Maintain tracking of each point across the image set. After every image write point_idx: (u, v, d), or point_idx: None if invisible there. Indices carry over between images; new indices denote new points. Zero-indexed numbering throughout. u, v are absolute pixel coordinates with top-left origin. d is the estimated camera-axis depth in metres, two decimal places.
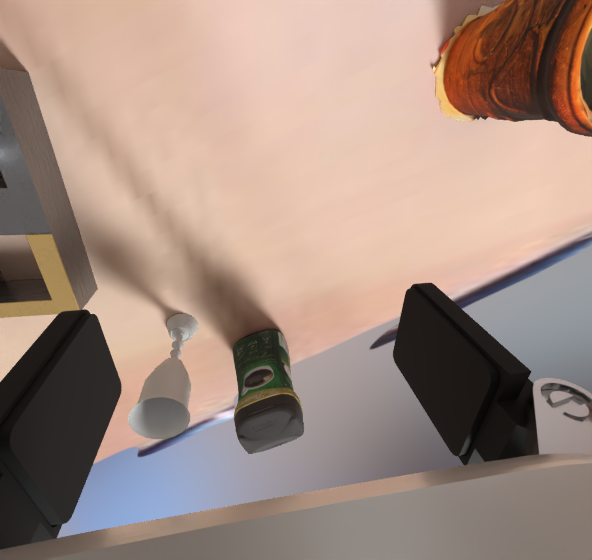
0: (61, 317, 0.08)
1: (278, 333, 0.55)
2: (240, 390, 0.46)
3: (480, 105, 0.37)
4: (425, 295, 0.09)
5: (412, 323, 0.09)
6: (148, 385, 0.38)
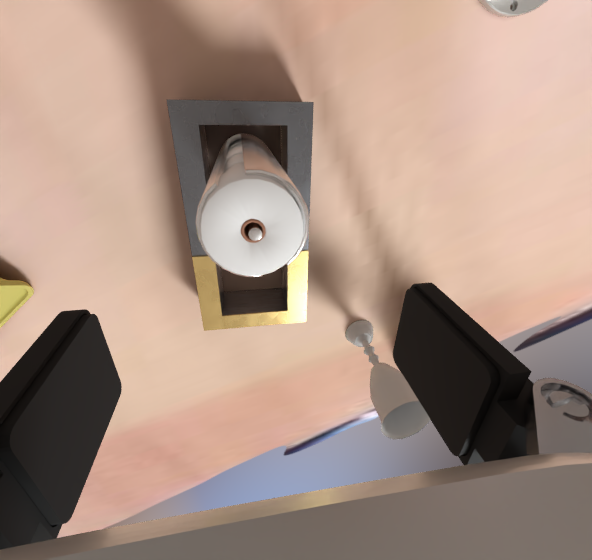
0: (61, 317, 0.08)
1: None
2: None
3: None
4: (425, 295, 0.09)
5: (412, 323, 0.09)
6: (388, 389, 0.41)
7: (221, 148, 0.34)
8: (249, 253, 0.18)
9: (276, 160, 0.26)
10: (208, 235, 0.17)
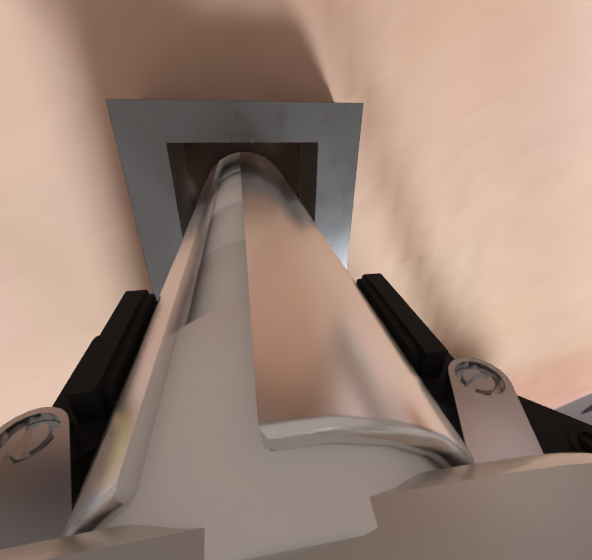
0: (128, 295, 0.09)
1: None
2: None
3: None
4: (372, 285, 0.10)
5: None
6: None
7: (207, 179, 0.21)
8: None
9: (310, 219, 0.13)
10: None
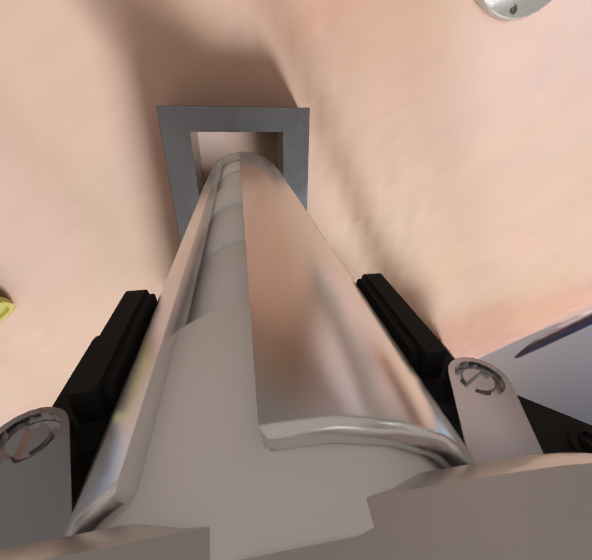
0: (128, 295, 0.09)
1: None
2: None
3: None
4: (372, 285, 0.10)
5: None
6: None
7: (207, 179, 0.21)
8: None
9: (310, 219, 0.13)
10: None
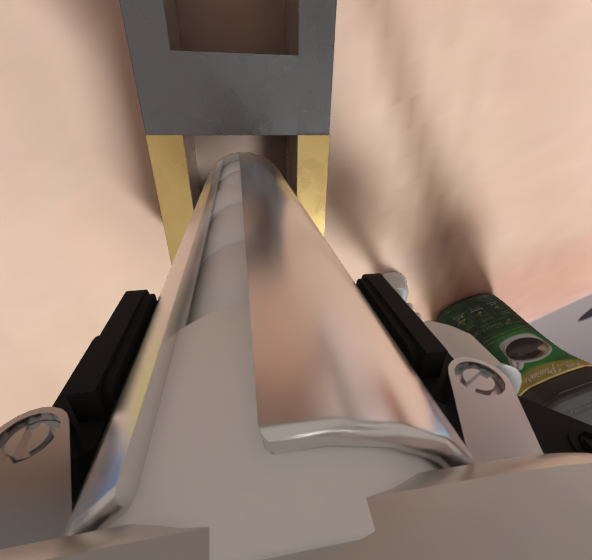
0: (128, 295, 0.09)
1: (498, 298, 0.44)
2: None
3: None
4: (372, 285, 0.10)
5: None
6: (450, 351, 0.27)
7: (207, 179, 0.21)
8: None
9: (310, 219, 0.13)
10: None
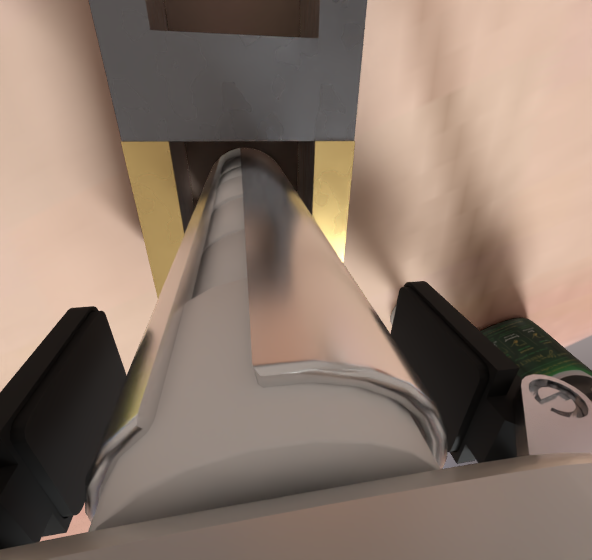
0: (70, 314, 0.08)
1: (534, 323, 0.38)
2: None
3: None
4: (418, 294, 0.09)
5: (405, 321, 0.10)
6: None
7: (209, 173, 0.21)
8: None
9: (307, 210, 0.14)
10: None
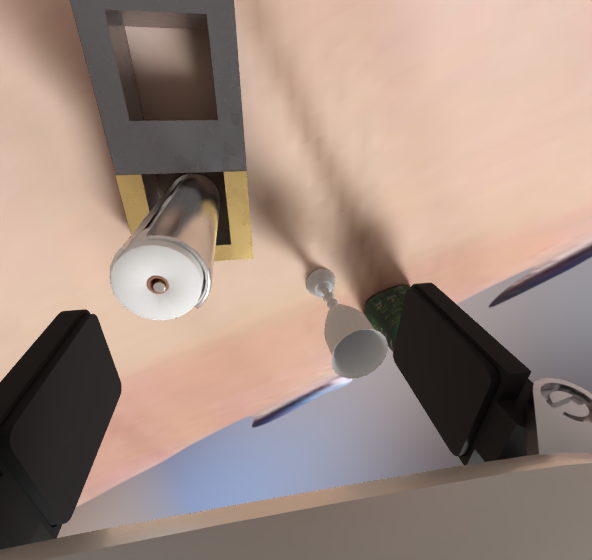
0: (61, 317, 0.08)
1: None
2: None
3: None
4: (425, 295, 0.09)
5: (412, 323, 0.09)
6: (340, 323, 0.37)
7: None
8: (157, 302, 0.21)
9: (204, 207, 0.30)
10: (118, 290, 0.20)
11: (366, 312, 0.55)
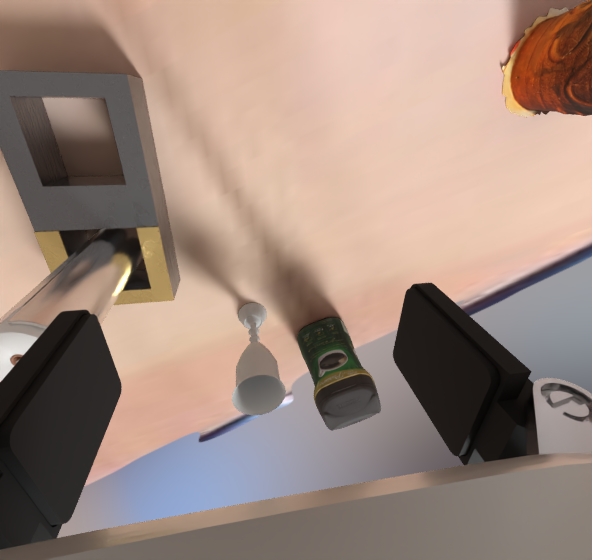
0: (61, 317, 0.08)
1: (340, 320, 0.58)
2: (316, 372, 0.49)
3: (551, 101, 0.40)
4: (425, 295, 0.09)
5: (412, 323, 0.09)
6: (245, 365, 0.41)
7: None
8: None
9: (101, 270, 0.33)
10: None
11: (298, 342, 0.58)
